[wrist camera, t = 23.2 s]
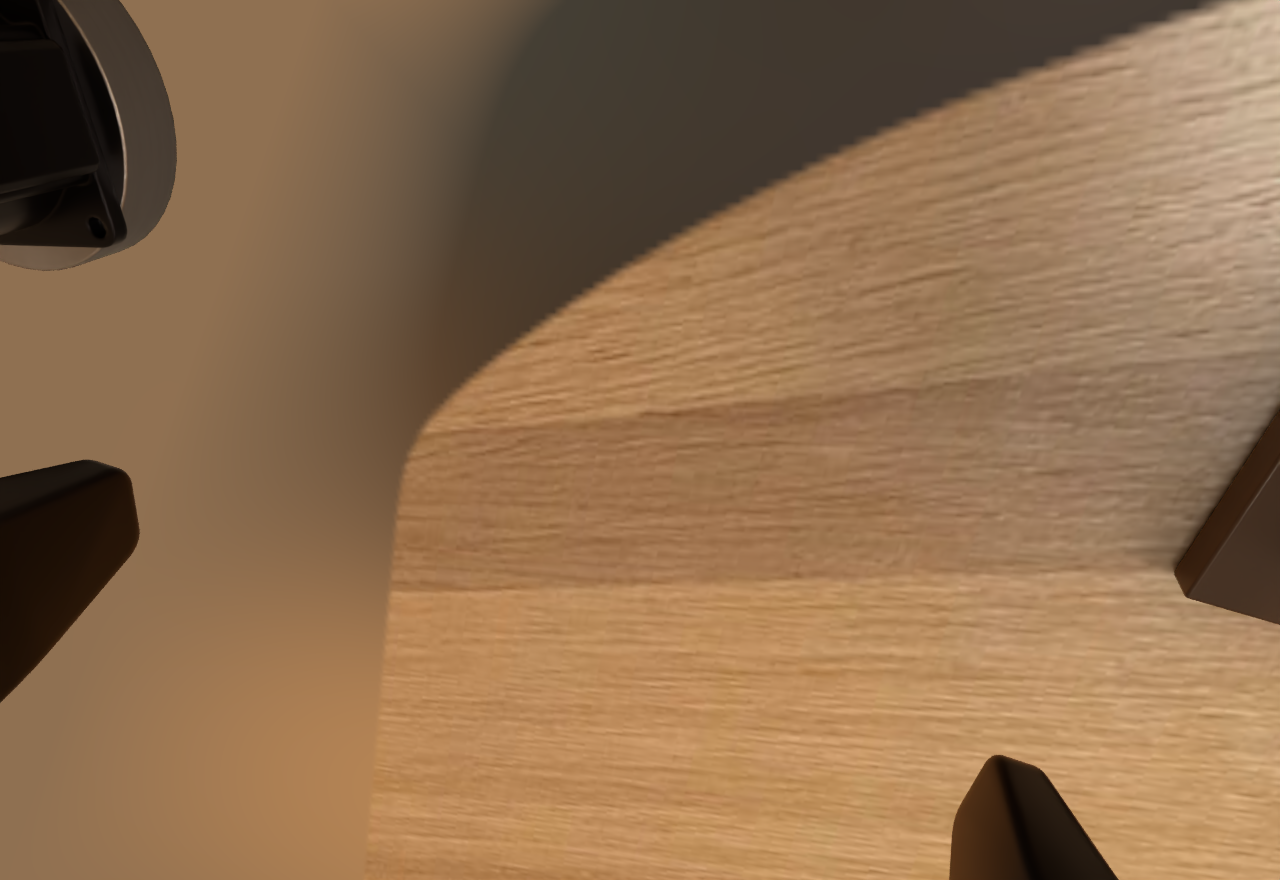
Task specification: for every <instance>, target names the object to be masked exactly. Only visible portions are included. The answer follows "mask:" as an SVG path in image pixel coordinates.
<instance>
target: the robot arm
mask: <svg viewBox="0 0 1280 880" xmlns="http://www.w3.org/2000/svg"><path fill="white" fill-rule="evenodd" d="M101 222H102V223H103V224H104V226H105V229H106V230H105V229H104V227H103V226H102V224H101ZM126 236H127V226H126V222H125V219H124V216H123V213H122V210H121V207H120V204H119V201H118V198H117V195H116V192H115V189H114V185H113V182H112V179H111V176H110V173H109V170H108V167H107V164H106V161H105V158H104V155H103V152H102V149H101V146H100V143H99V140H98V137H97V134H96V131H95V128H94V125H93V121H92V118H91V115H90V112H89V109H88V106H87V103H86V100H85V97H84V94H83V91H82V88H81V85H80V82H79V79H78V76H77V73H76V70H75V67H74V64H73V61H72V58H71V54H70V51H69V48H68V45H67V42H66V39H65V36H64V33H63V30H62V27H61V24H60V21H59V18H58V15H57V12H56V9H55V6H54V3H53V0H0V245H17V246H53V247H89V248H106V247H110V246H113V245H116V244H119V243H122V242H123V241H124V240H125V239H126ZM139 534H140V533H139V523H138V518H137V512H136V506H135V499H134V494H133V488H132V482H131V480H130V477H129V476H128V475H127V473H126V472H124V471H123V470H122V469H119V468H116V467H113V466H110V465H107V464H104V463H101V462H98V461H93V460H81V461H75V462H70V463H66V464H62V465H57V466H52V467H48V468H43V469H38V470H34V471H29V472H24V473H20V474H15V475H11V476H6V477H2V478H0V702H2V701H3V699H5V697H6V696H8V694H10V693H11V692H12V691H13V690H14V689H15V688H16V687H17V686H18V685H19V684H20V683H21V682H22V681H23V679H24V678H25V677H26V676H27V675H28V674H29V673H30V672H31V671H32V670H33V669H34V668H35V667H36V666H37V665H38V664H39V663H40V661H41V660H42V659H43V658H44V657H45V656H46V655H47V653H48V652H49V651H50V650H51V649H52V648H53V647H54V645H55V644H56V643H57V642H58V641H59V640H60V638H61V637H62V636H63V635H64V634H65V632H66V631H67V630H68V629H69V628H70V626H71V625H72V624H73V623H74V622H75V621H76V620H77V618H78V617H79V616H80V615H81V614H82V612H83V611H84V610H85V609H86V608H87V606H88V605H89V604H90V603H91V602H92V601H93V599H94V598H95V597H96V596H97V595H98V594H99V592H100V591H101V590H102V589H103V588H104V586H105V585H106V584H107V583H108V581H109V580H110V579H111V578H112V577H113V576H114V575H115V573H116V572H117V571H118V570H119V569H120V568H121V566H122V565H123V564H124V563H125V562H126V560H127V559H128V558H129V557H130V556H131V554H132V553H133V551H134V549H135V547H136V546H137V543H138V540H139ZM949 880H1118V878H1117V877H1116V875H1115V874H1114V873H1113V871H1112V870H1111V868H1110V867H1109V865H1108V864H1107V862H1106V861H1105V860H1104V858H1103V857H1102V855H1101V854H1100V852H1099V851H1098V849H1097V848H1096V847H1095V845H1094V844H1093V842H1092V841H1091V839H1090V838H1089V836H1088V835H1087V833H1086V832H1085V831H1084V829H1083V828H1082V826H1081V825H1080V823H1079V822H1078V820H1077V819H1076V818H1075V816H1074V815H1073V813H1072V812H1071V810H1070V809H1069V807H1068V806H1067V805H1066V803H1065V802H1064V800H1063V799H1062V797H1061V796H1060V794H1059V793H1058V791H1057V790H1056V789H1055V787H1054V786H1053V784H1052V783H1051V781H1050V780H1049V778H1048V777H1047V776H1046V775H1045V773H1044V772H1043V771H1042V770H1040V769H1039V768H1037V767H1036V766H1033V765H1030V764H1027V763H1024V762H1021V761H1018V760H1015V759H1012V758H1009V757H1006V756H1003V755H994V756H992V757H991V758H989V759H988V760H987V761H986V763H985V764H984V766H983V768H982V769H981V771H980V773H979V774H978V776H977V778H976V779H975V781H974V783H973V784H972V786H971V788H970V790H969V791H968V793H967V795H966V796H965V798H964V800H963V801H962V803H961V805H960V807H959V809H958V811H957V814H956V817H955V820H954V825H953V831H952V844H951V860H950V876H949Z"/></svg>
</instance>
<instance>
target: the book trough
mask: <svg viewBox="0 0 1280 880" xmlns="http://www.w3.org/2000/svg"><path fill="white" fill-rule="evenodd" d="M1174 575H1175V577H1176V579H1177V581H1178V583H1179V585H1180V587H1181V589H1182V591H1183V593H1184V595H1185V596H1186V597H1187V598H1189V599H1193V600H1196V601H1200V602H1203V603H1206V604H1210V605H1213V606H1217V607H1220V608H1224V609H1227V610H1231V611H1234V612H1237V613H1241V614H1244V615H1248V616H1251V617H1255V618H1258V619H1262V620H1265V621H1268V622H1272V623H1275V624H1279V625H1280V410H1279V412H1278V413H1277V415H1276V416H1275V418H1274V419H1273V421H1272V422H1271V424H1270V426H1269V427H1268V429H1267V430H1266V432H1265V433H1264V435H1263V436H1262V438H1261V439H1260V441H1259V442H1258V444H1257V445H1256V447H1255V449H1254V450H1253V452H1252V453H1251V455H1250V456H1249V458H1248V459H1247V461H1246V462H1245V464H1244V465H1243V467H1242V469H1241V470H1240V472H1239V473H1238V475H1237V476H1236V478H1235V479H1234V481H1233V482H1232V484H1231V485H1230V487H1229V489H1228V490H1227V492H1226V493H1225V495H1224V496H1223V498H1222V499H1221V501H1220V502H1219V504H1218V505H1217V507H1216V509H1215V510H1214V512H1213V513H1212V515H1211V516H1210V518H1209V519H1208V521H1207V522H1206V524H1205V525H1204V527H1203V529H1202V530H1201V532H1200V533H1199V535H1198V536H1197V538H1196V539H1195V541H1194V542H1193V544H1192V545H1191V547H1190V549H1189V550H1188V552H1187V553H1186V555H1185V556H1184V558H1183V559H1182V561H1181V562H1180V564H1179V565H1178V567H1177V569H1176V570H1175V572H1174Z"/></svg>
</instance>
